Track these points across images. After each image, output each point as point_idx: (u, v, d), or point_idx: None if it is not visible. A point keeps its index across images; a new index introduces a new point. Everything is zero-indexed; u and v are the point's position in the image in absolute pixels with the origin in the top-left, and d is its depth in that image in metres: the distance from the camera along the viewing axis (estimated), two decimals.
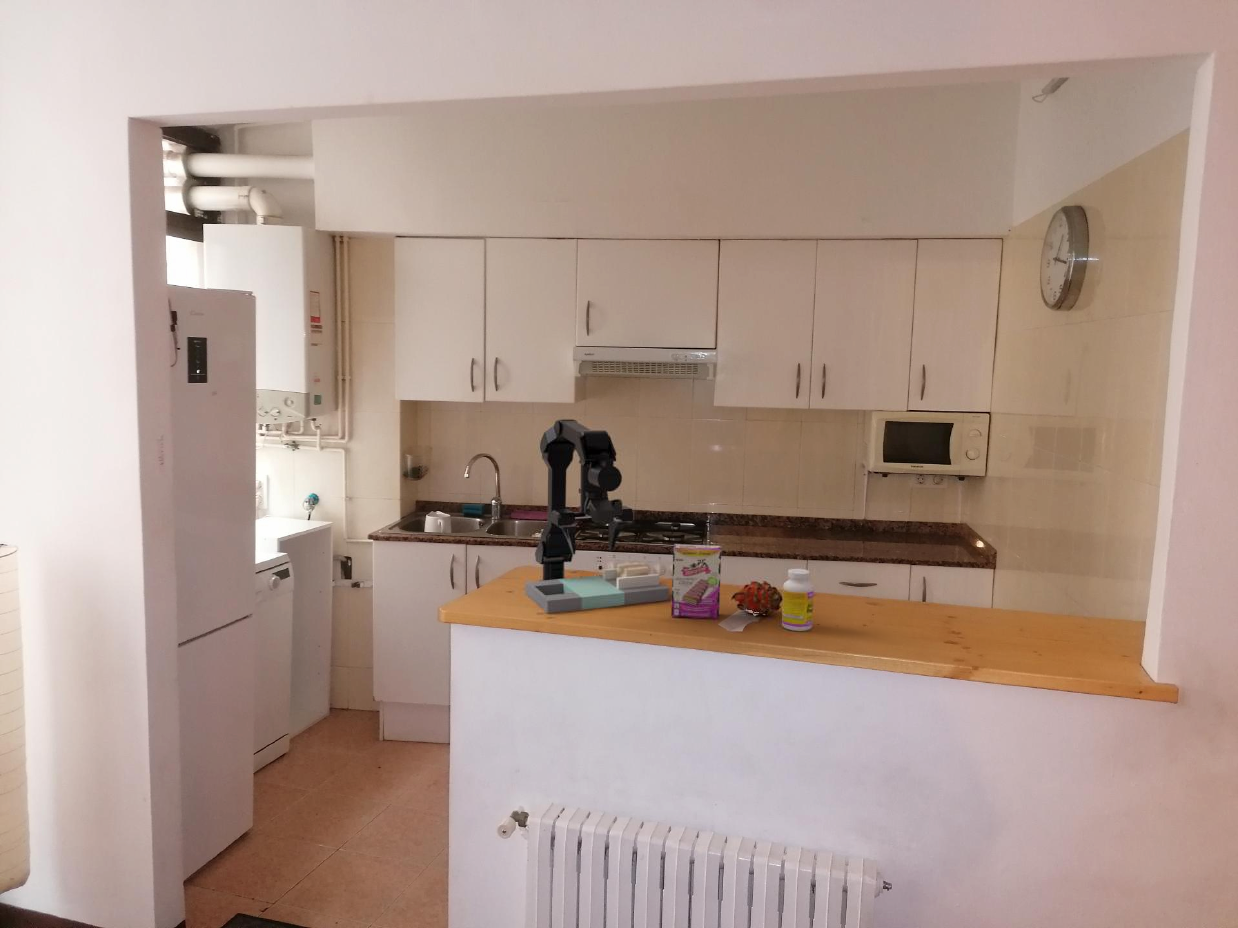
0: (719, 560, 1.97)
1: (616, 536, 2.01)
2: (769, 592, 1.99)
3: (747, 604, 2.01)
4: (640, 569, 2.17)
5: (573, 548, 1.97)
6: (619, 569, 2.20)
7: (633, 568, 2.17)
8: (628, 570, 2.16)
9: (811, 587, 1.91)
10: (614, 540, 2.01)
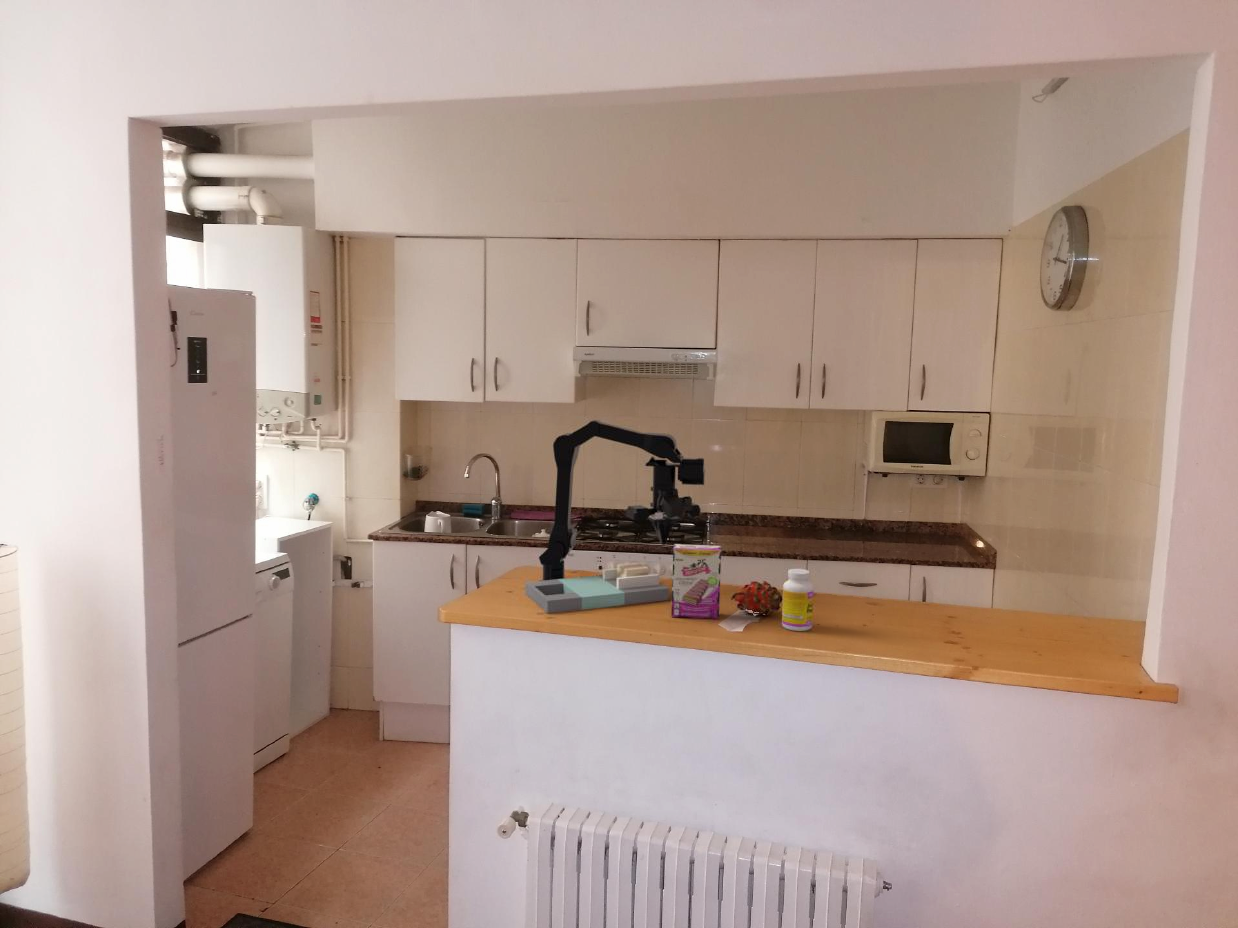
0: (719, 560, 1.97)
1: (669, 531, 2.21)
2: (769, 592, 1.99)
3: (747, 604, 2.01)
4: (640, 569, 2.17)
5: (662, 539, 2.21)
6: (619, 569, 2.20)
7: (633, 568, 2.17)
8: (628, 570, 2.16)
9: (812, 587, 1.91)
10: (667, 534, 2.21)
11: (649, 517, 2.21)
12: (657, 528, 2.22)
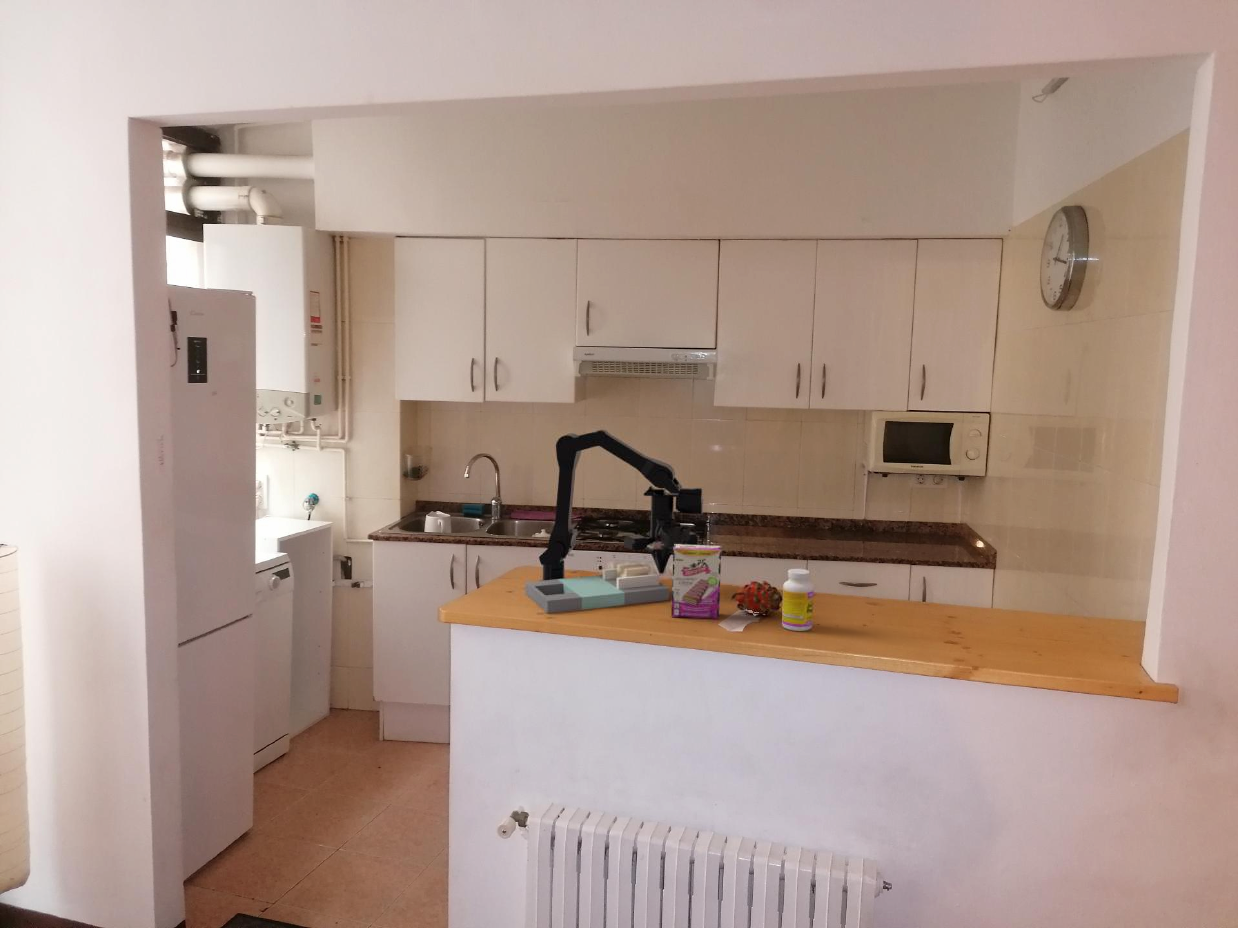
0: (719, 560, 1.97)
1: (667, 560, 2.22)
2: (769, 592, 1.99)
3: (747, 604, 2.01)
4: (640, 569, 2.17)
5: (660, 568, 2.22)
6: (619, 569, 2.20)
7: (633, 568, 2.17)
8: (628, 570, 2.16)
9: (812, 587, 1.91)
10: (665, 563, 2.22)
11: (647, 546, 2.22)
12: (655, 557, 2.22)
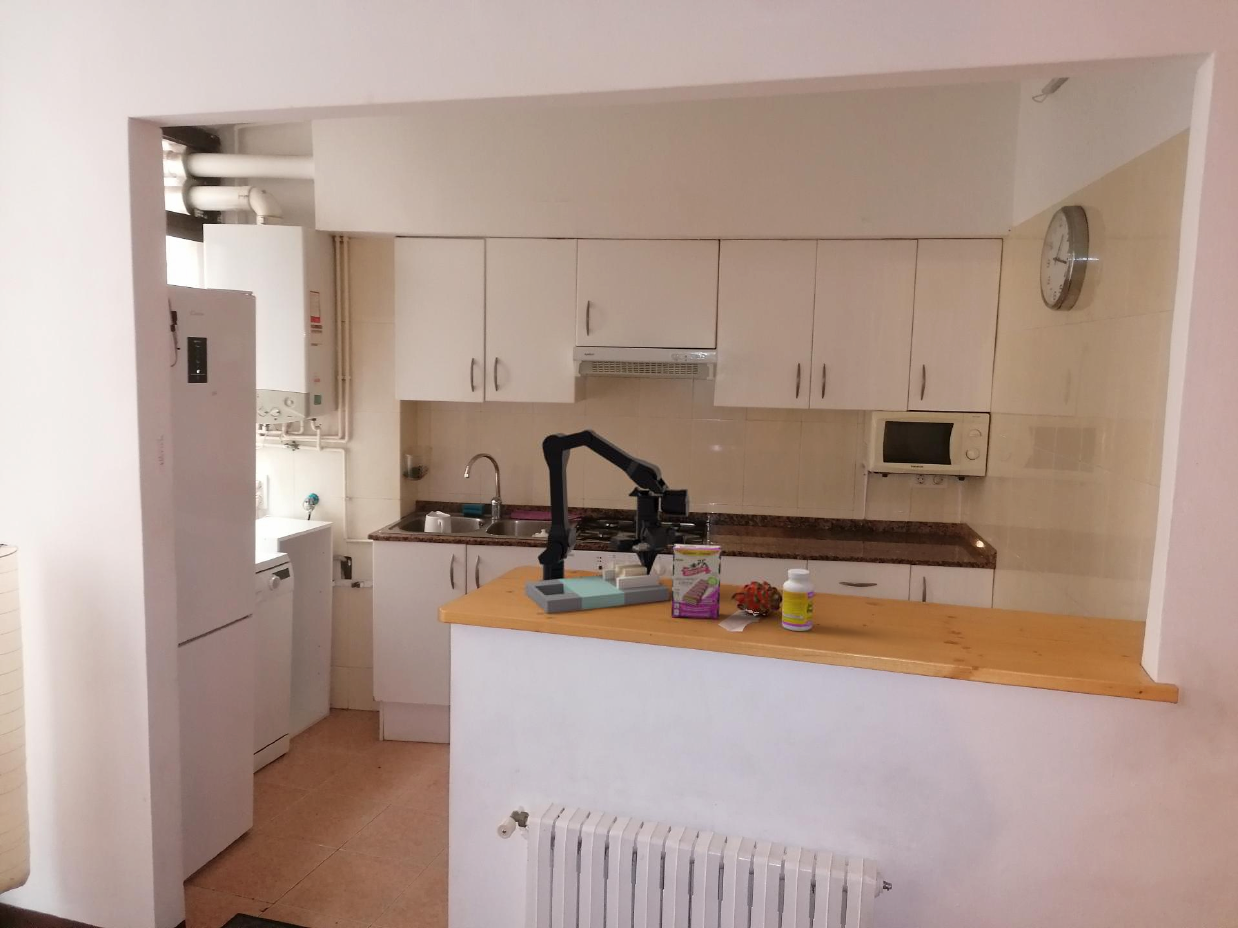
0: (719, 560, 1.97)
1: (652, 561, 2.20)
2: (769, 592, 1.99)
3: (747, 604, 2.01)
4: (638, 569, 2.17)
5: None
6: (617, 569, 2.19)
7: (631, 568, 2.17)
8: (627, 570, 2.16)
9: (812, 587, 1.91)
10: (651, 565, 2.20)
11: (633, 547, 2.20)
12: (641, 558, 2.21)
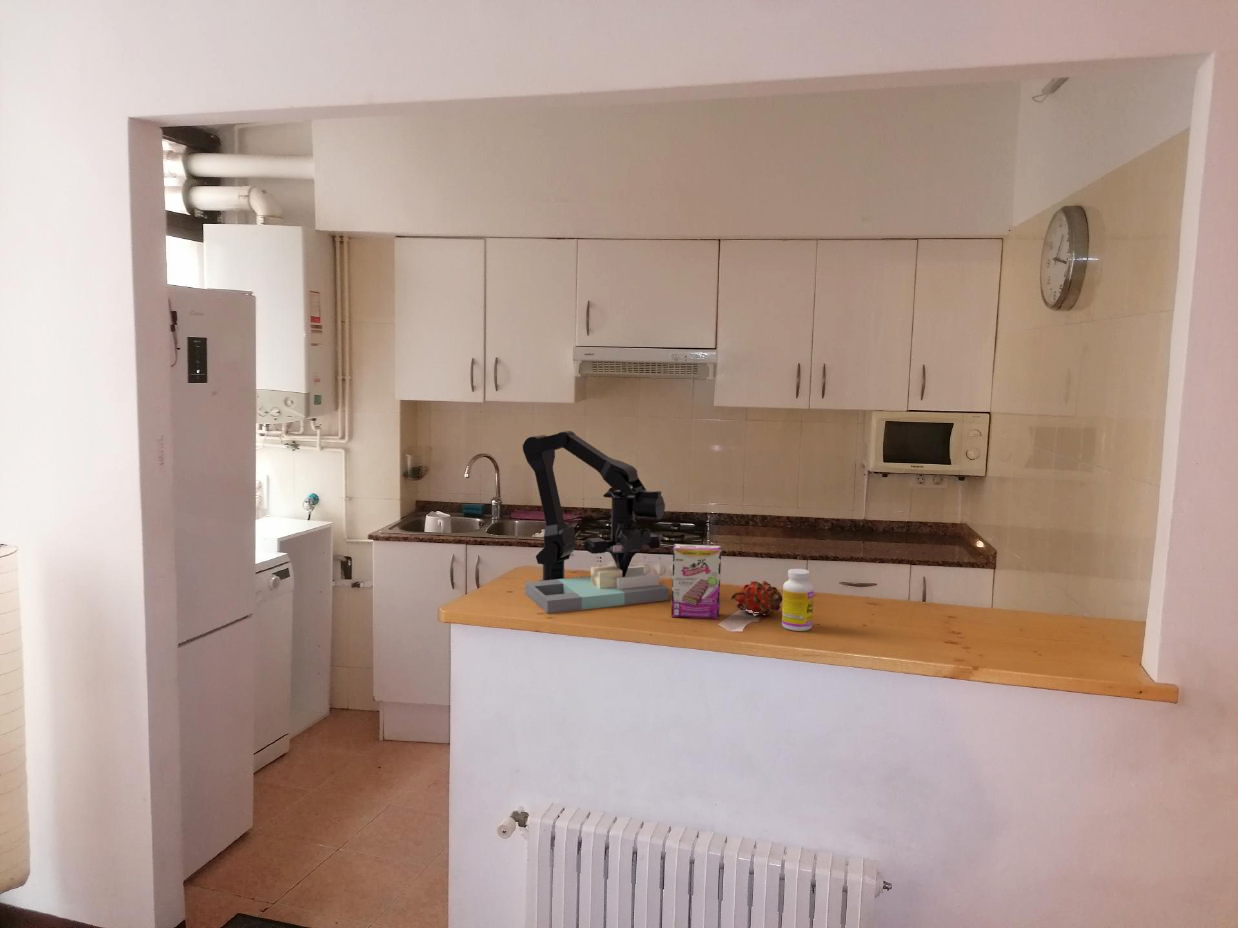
0: (719, 560, 1.97)
1: (628, 563, 2.18)
2: (769, 592, 1.99)
3: (747, 604, 2.01)
4: (614, 572, 2.14)
5: (622, 572, 2.18)
6: (593, 572, 2.17)
7: (607, 571, 2.14)
8: (602, 573, 2.13)
9: (811, 587, 1.91)
10: (626, 567, 2.18)
11: (608, 549, 2.17)
12: (616, 560, 2.18)
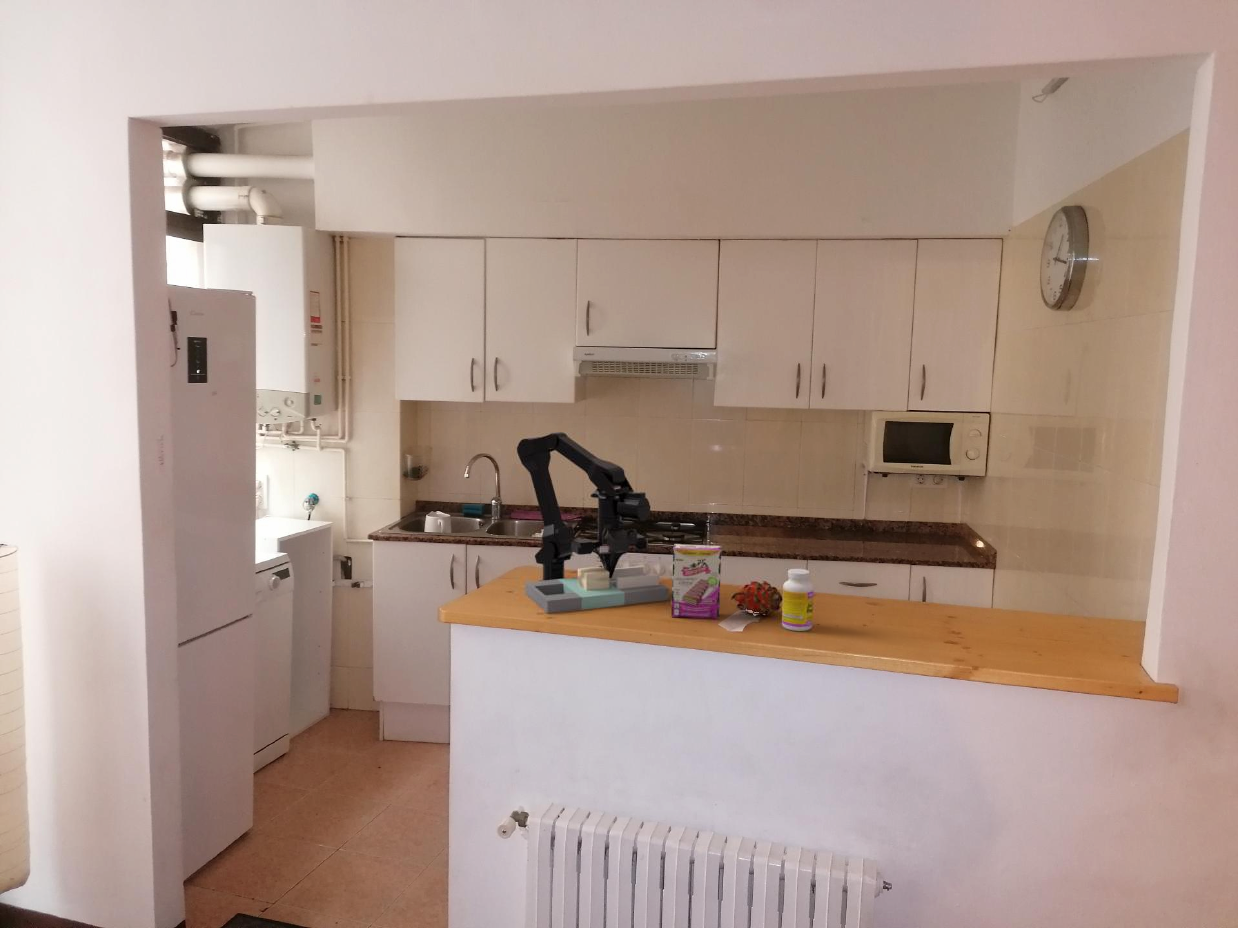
0: (719, 560, 1.97)
1: (615, 564, 2.16)
2: (769, 592, 1.99)
3: (747, 604, 2.01)
4: (601, 573, 2.12)
5: None
6: (580, 573, 2.15)
7: (593, 572, 2.13)
8: (588, 574, 2.11)
9: (812, 587, 1.91)
10: (613, 568, 2.16)
11: (595, 550, 2.16)
12: (603, 561, 2.17)
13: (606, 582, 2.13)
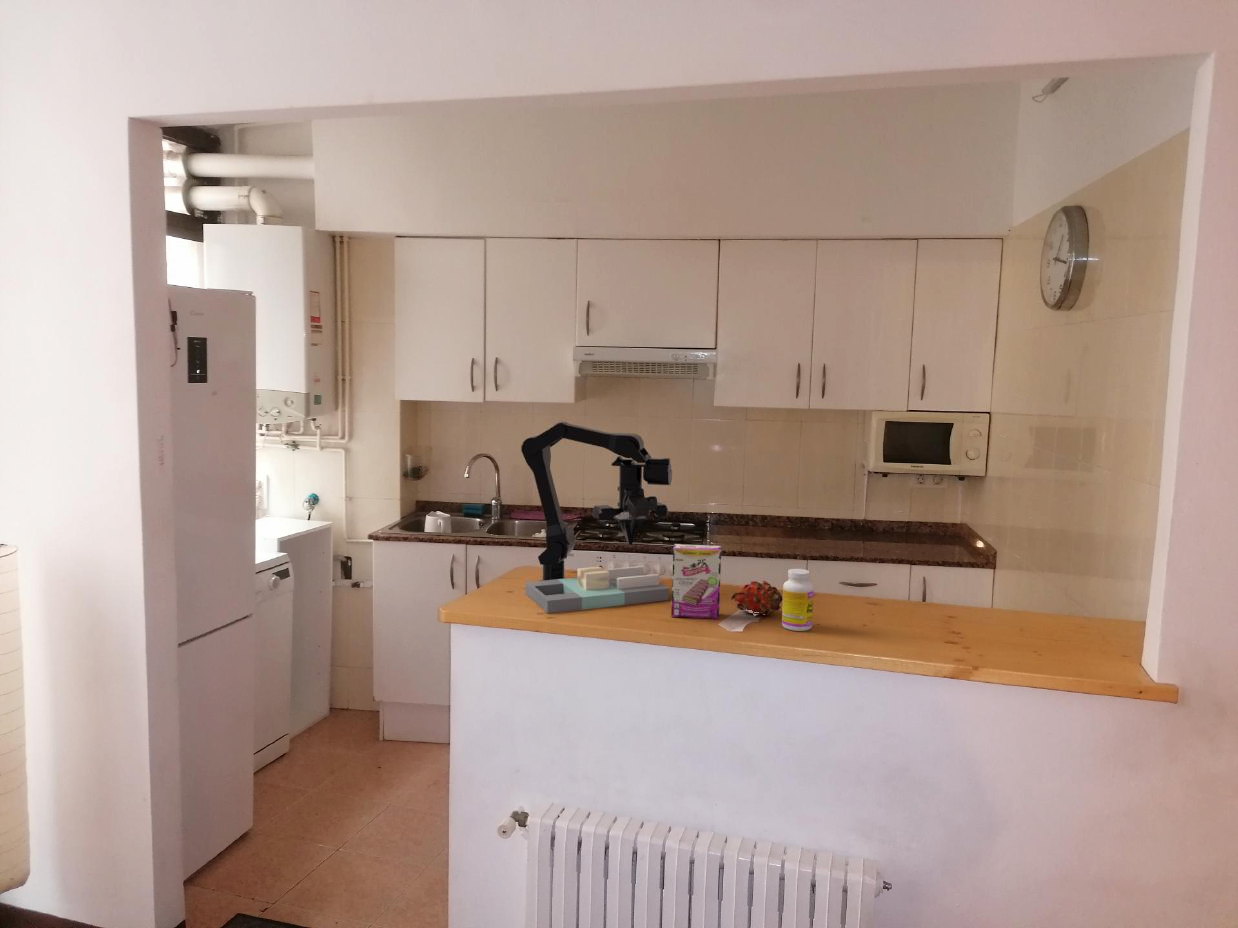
0: (719, 560, 1.97)
1: (635, 531, 2.21)
2: (769, 592, 1.99)
3: (747, 604, 2.01)
4: (600, 573, 2.12)
5: (629, 539, 2.21)
6: (579, 573, 2.15)
7: (593, 572, 2.13)
8: (588, 574, 2.11)
9: (812, 587, 1.91)
10: (633, 534, 2.21)
11: (616, 517, 2.21)
12: (624, 528, 2.21)
13: (606, 582, 2.13)
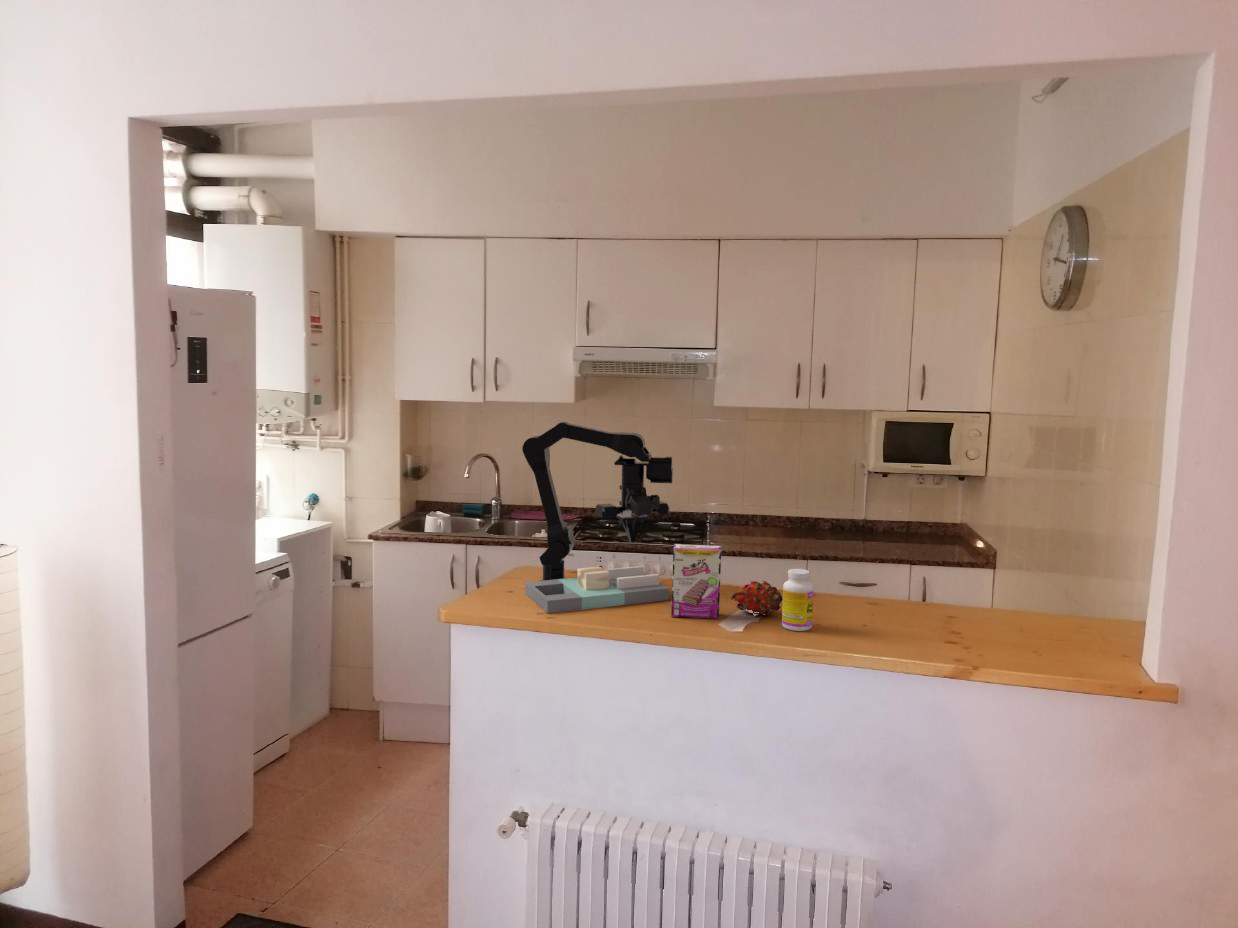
0: (719, 560, 1.97)
1: (637, 529, 2.23)
2: (769, 592, 1.99)
3: (747, 604, 2.01)
4: (600, 573, 2.12)
5: (631, 537, 2.23)
6: (579, 573, 2.15)
7: (593, 572, 2.13)
8: (588, 574, 2.11)
9: (812, 587, 1.91)
10: (635, 532, 2.23)
11: (618, 515, 2.23)
12: (626, 526, 2.24)
13: (606, 582, 2.13)
